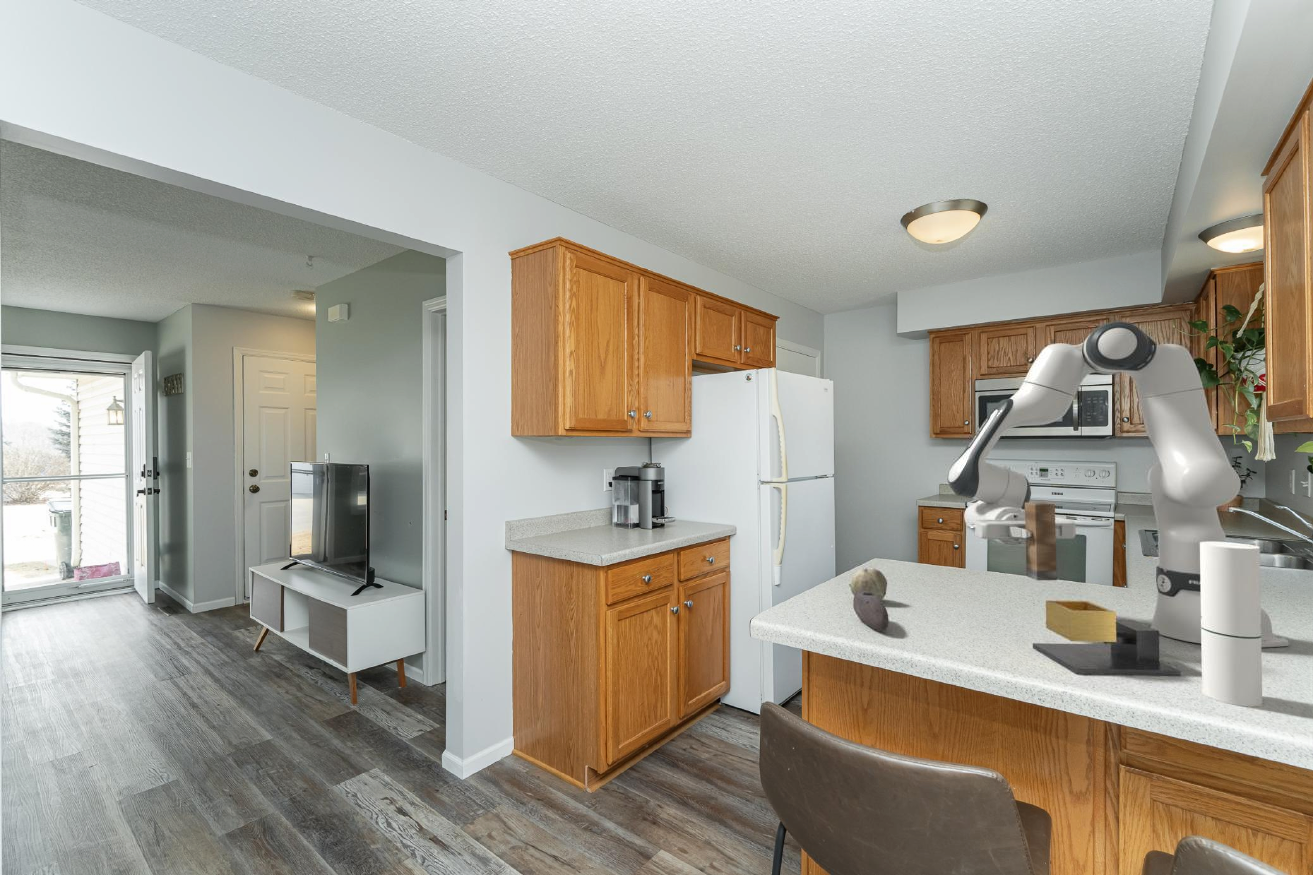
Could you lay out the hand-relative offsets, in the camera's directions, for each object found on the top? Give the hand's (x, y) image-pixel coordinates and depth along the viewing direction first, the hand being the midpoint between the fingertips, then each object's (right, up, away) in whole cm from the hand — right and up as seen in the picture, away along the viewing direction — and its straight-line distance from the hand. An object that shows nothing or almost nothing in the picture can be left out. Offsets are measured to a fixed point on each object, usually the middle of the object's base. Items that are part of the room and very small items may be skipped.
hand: (1042, 534), depth 128 cm
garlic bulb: (-26, -23, +32) cm, 48 cm away
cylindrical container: (+12, -22, -29) cm, 39 cm away
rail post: (0, -10, +1) cm, 10 cm away
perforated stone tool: (-32, -23, +11) cm, 41 cm away
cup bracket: (+3, -22, -13) cm, 26 cm away
